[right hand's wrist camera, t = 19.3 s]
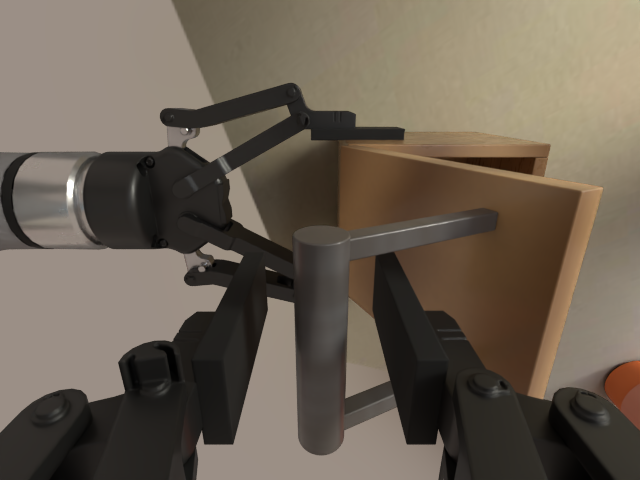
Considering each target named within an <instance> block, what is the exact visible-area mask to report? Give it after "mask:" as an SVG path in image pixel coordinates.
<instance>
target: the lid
mask: <svg viewBox="0 0 640 480" xmlns="http://www.w3.org/2000/svg"><path fill="white" fill-rule="evenodd" d="M602 192H603V187H599V186H593V185H587V184H582V183H576V182H570V181H564V180H558V179H552V178H546V177H541V176H535V175H529V174H523V173H517V172H511V171H505V170H500V169H494V168H488V167H482V166H476V165H470V164H464V163H459V162H453V161H447V160H441V159H435V158H429V157H423V156H418V155H412V154H406V153H400V152H394V151H388V150H382V149H377V148H371V147H365V146H359V145H348V146H341V166H340V214H339V227H334V226H325V225H318V226H309V227H304V228H301V229H298V230H296V231H295V232H294V233H293V236H292V239H293V273H294V308H295V342H296V376H297V411H298V438H299V441H300V444H301V445H302V447H303V448H304V449H305V450H306V451H308V452H310V453H312V454H315V455H327V454H330V453H333V452H334V451H336V450H337V449H338V448H339V447H340V446H341V444H342V442H343V438H344V430H346V429H348V428H350V427H353V426H355V425H357V424H360V423H362V422H364V421H366V420H369V419H371V418H373V417H375V416H378V415H380V414H382V413H384V412H387V411H389V410H391V409H393V408H396V407H397V404H396V400H395V396H394V393H393V389H392V385H391V381H388V382H386V383H383V384H381V385H378V386H376V387H373V388H371V389H368V390H366V391H363V392H361V393H358V394H356V395H353V396H351V397H348V398H346V399H345V387H346V357H347V326H348V296H349V297H350V298H351V299H352V300H353V301H354V302H355V303H357V304H358V305H359V306H360V307H361V308H362V309H363V310H365V311H366V312H367V313H368V314H369V315H370V316H371V317H373V318H374V315H373V311H372V306H373V289H374V273H375V256H376V255H381V254H386V253H390V252H394V253H395V255H396V257H397V258H398V260H399V262H400V264H401V266H402V268H403V270H404V272H405V274H406V276H407V278H408V280H409V282H410V284H411V286H412V288H413V290H414V292H415V294H416V296H417V298H418V300H419V302H420V304H421V306H422V308H423V310H424V311H444V312H446V313H447V314H448V315H450V316H451V317H452V318H454V319H455V320H456V322H457V323H458V325H459V327H460V328H461V331H462V332H463V333H464V335H465V336H466V338H467V340H468V341H469V342H470V344H471V346H472V347H473V349H474V350H475V352H476V353H477V355H478V357H479V358H480V360H481V361H482V363H483V365H484V366H485V368H486V369H487V370H491V371H493V372H495V373H497V374H499V375H501V376H502V377H503V378H505V379H506V380H507V381H508V382H509V383H510V384H511V386H512V387H513V389H514V390H515V392H517V393H520V394H523V395H526V396H531V397H535V398H539V399H543V397H544V394H545V391H546V387H547V384H548V380H549V377H550V373H551V370H552V366H553V363H554V359H555V356H556V352H557V349H558V345H559V342H560V338H561V335H562V331H563V328H564V324H565V321H566V317H567V314H568V310H569V307H570V303H571V300H572V296H573V293H574V289H575V286H576V282H577V279H578V275H579V272H580V268H581V265H582V262H583V258H584V255H585V251H586V248H587V244H588V241H589V237H590V234H591V230H592V227H593V223H594V220H595V216H596V213H597V209H598V206H599V202H600V199H601V195H602Z"/></svg>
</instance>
